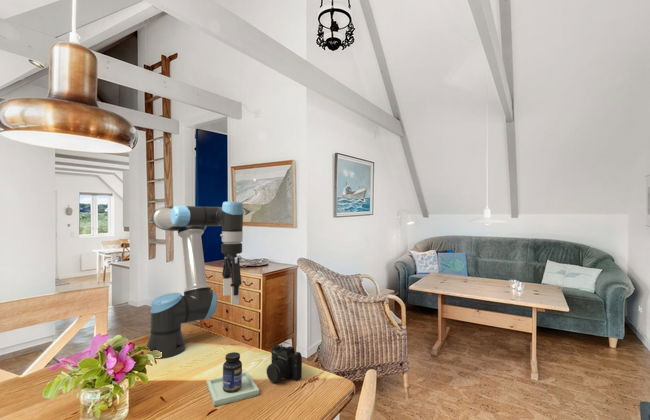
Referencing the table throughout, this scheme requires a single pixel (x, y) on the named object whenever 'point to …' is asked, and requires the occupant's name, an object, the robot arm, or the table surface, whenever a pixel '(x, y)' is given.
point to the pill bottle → (232, 373)
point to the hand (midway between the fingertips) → (230, 299)
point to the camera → (284, 364)
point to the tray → (224, 397)
